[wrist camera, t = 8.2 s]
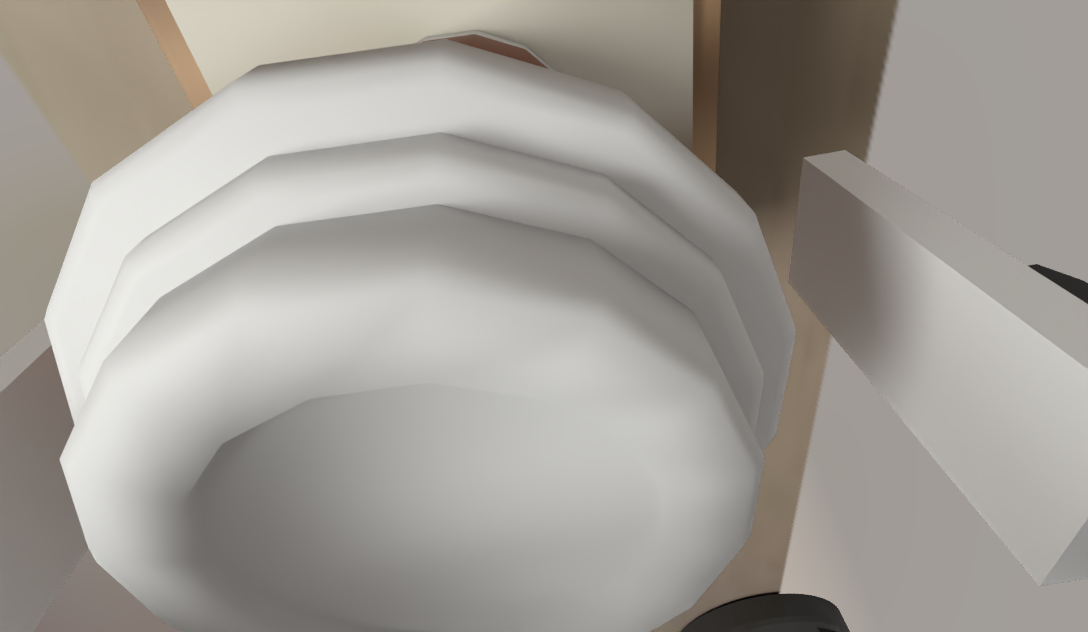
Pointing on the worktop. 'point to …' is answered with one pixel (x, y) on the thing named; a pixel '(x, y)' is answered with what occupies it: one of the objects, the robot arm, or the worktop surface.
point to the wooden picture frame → (462, 5)
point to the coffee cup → (417, 353)
